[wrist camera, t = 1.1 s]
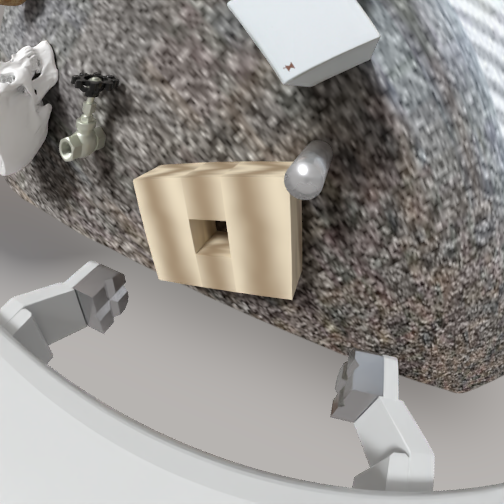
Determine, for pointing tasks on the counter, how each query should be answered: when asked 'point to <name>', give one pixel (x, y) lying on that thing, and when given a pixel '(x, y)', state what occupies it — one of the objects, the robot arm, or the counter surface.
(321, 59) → the supplement box
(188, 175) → the hole block
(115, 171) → the counter surface
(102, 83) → the valve
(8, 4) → the potato
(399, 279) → the counter surface
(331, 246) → the counter surface
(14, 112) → the skull planter
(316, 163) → the steel peg
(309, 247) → the counter surface
